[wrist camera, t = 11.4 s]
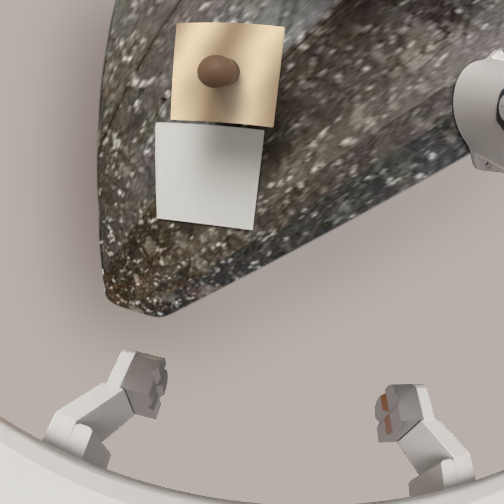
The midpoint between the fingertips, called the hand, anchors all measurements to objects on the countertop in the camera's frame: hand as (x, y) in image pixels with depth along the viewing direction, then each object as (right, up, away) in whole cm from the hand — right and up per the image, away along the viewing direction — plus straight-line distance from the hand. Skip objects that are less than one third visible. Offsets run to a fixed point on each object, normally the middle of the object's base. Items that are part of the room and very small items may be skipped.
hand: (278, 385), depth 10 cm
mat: (-7, +15, +30) cm, 34 cm away
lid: (-3, +22, +16) cm, 27 cm away
